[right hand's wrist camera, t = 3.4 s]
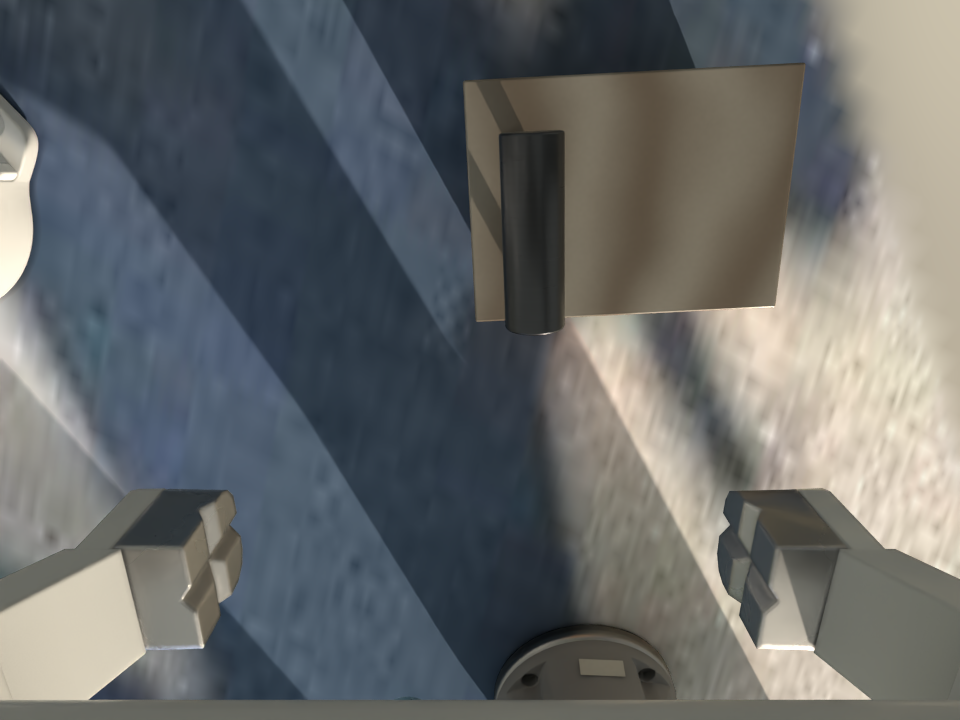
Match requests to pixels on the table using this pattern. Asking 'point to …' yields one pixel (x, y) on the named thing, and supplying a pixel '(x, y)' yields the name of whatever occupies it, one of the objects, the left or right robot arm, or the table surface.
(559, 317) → the lid
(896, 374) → the table surface
